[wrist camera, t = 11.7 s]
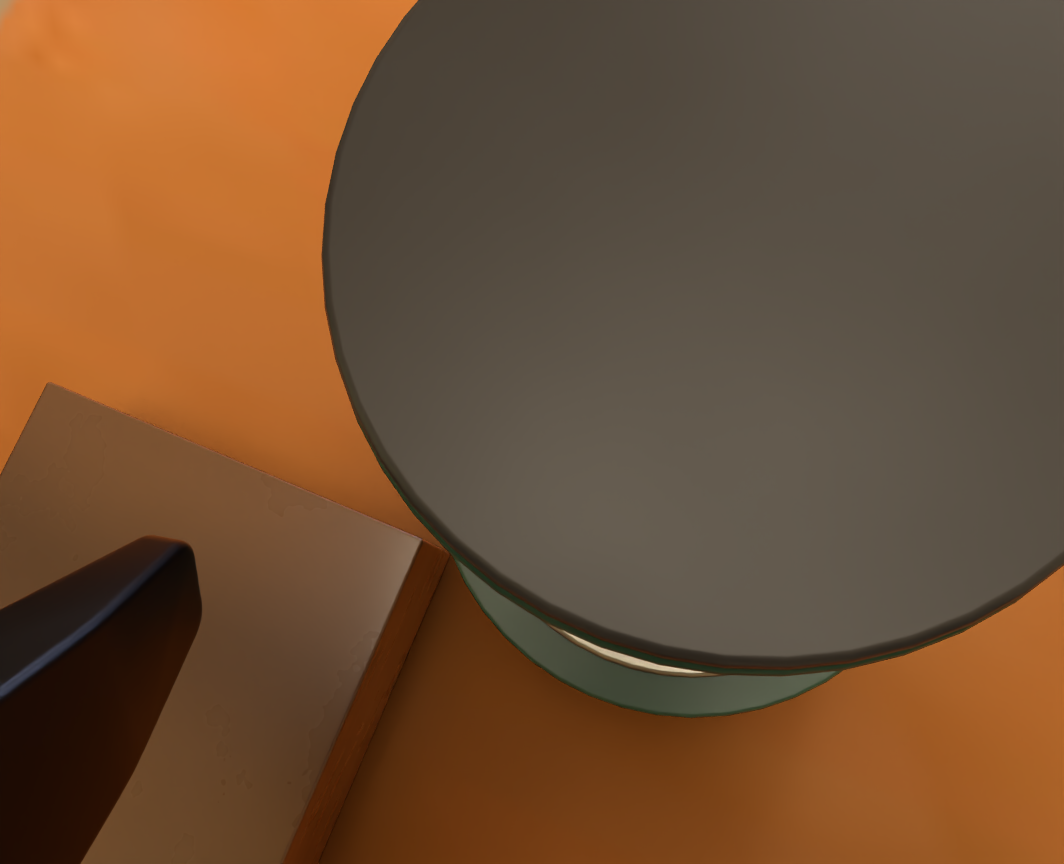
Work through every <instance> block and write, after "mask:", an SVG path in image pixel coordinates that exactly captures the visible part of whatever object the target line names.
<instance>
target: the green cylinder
mask: <svg viewBox="0 0 1064 864" xmlns="http://www.w3.org/2000/svg"><path fill="white" fill-rule="evenodd" d="M453 558H454V557H453ZM454 560H455V562H456V565H457V567H458V569H459V571H460V573H461V575H462V578H463V580H464V582H465V584H466V585H467V587H468V588H469V590H470V592H471V593H472V595H473V596H474V598H475V600H476V601H477V603H478V604H479V606H480V607H481V609H482V611H483V612H484V613H485V614H486V615H487V617H488V618H489V619H490V620H491V621H492V623H493V624H494V625H495V626H496V627H497V629H498V630H499V631H500V632H501V633H502V635H503V636H504V637H505V638H506V639H507V640H508V641H509V642H511V643H512V644H513V645H514V646H515V647H516V648H517V649H518V650H519V651H520V652H521V653H523V654H524V655H525V656H526V657H527V658H528V659H529V660H530V661H532V662H533V663H535V664H536V665H538V666H539V667H540V668H542V669H543V670H545V671H546V672H548V673H549V674H550V675H552V676H553V677H555V678H556V679H558V680H559V681H561V682H563V683H565V684H567V685H569V686H571V687H573V688H575V689H577V690H579V691H581V692H583V693H584V694H586V695H588V696H591V697H594V698H596V699H599V700H602V701H605V702H608V703H610V704H613V705H616V706H619V707H621V708H626V709H631V710H635V711H640V712H644V713H649V714H654V715H662V716H675V717H687V718H697V717H715V716H729V715H734V714H739V713H744V712H749V711H755V710H760V709H763V708H766V707H769V706H772V705H775V704H778V703H781V702H784V701H787V700H790V699H793V698H795V697H797V696H799V695H801V694H803V693H805V692H807V691H809V690H811V689H813V688H815V687H817V686H819V685H821V684H823V683H825V682H827V681H828V680H830V679H831V678H833V677H834V676H836V675H837V674H839V673H840V672H842V671H843V670H840V671H830V672H821V673H811V674H802V675H792V676H783V677H777V676H742V675H717V674H711V673H705V672H699V671H693V670H686V669H680V668H674V667H668V666H661V665H657V664H654V663H650V662H647V661H644V660H640V659H637V658H634V657H630V656H627V655H624V654H620V653H617V652H614V651H610V650H607V649H604V648H600V647H598V646H596V645H594V644H592V643H589V642H587V641H585V640H583V639H580V638H578V637H576V636H574V635H572V634H569V633H567V632H565V631H563V630H560V629H558V628H556V627H554V626H552V625H549V624H547V623H545V622H544V621H542V620H540V619H539V618H537V617H536V616H534V615H532V614H531V613H529V612H528V611H526V610H524V609H523V608H521V607H519V606H518V605H516V604H515V603H513V602H511V601H510V600H508V599H507V598H505V597H503V596H502V595H500V594H499V593H497V592H496V591H494V590H493V589H492V588H491V587H489V586H488V585H487V584H486V583H485V582H483V581H482V580H481V579H480V578H479V577H477V576H476V575H475V574H474V573H472V572H471V571H470V570H469V569H468V568H466V567H465V566H464V565H463V564H462V563H460V562H459V561H458V560H457V559H455V558H454Z"/></svg>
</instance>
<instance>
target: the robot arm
mask: <svg viewBox="0 0 1064 864" xmlns="http://www.w3.org/2000/svg"><path fill="white" fill-rule="evenodd" d="M201 618H202V599H201V593H200V586H199V580H198V573H197V567H196V561H195V555H194V551H193V549H192V547H191V546H190V545H189V543H187V542H185V541H182V540H177V539H172V538H167V537H161V536H156V535H147V536H143V537H141V538H138V539H136V540H134V541H132V542H130V543H129V544H127V545H125V546H123V547H121V548H119V549H117V550H115V551H113V552H111V553H109V554H107V555H105V556H103V557H101V558H99V559H97V560H95V561H93V562H91V563H90V564H88V565H86V566H84V567H82V568H80V569H78V570H76V571H74V572H72V573H70V574H68V575H66V576H64V577H62V578H60V579H58V580H56V581H54V582H52V583H51V584H49V585H47V586H45V587H43V588H41V589H39V590H37V591H35V592H33V593H31V594H29V595H27V596H25V597H23V598H21V599H19V600H17V601H15V602H13V603H11V604H10V605H8V606H6V607H4V608H2V609H0V864H81V862H82V861H83V859H84V857H85V856H86V854H87V852H88V850H89V849H90V847H91V845H92V844H93V842H94V840H95V839H96V837H97V835H98V833H99V832H100V830H101V828H102V827H103V825H104V823H105V822H106V820H107V818H108V816H109V815H110V813H111V811H112V810H113V808H114V806H115V805H116V803H117V801H118V799H119V798H120V796H121V794H122V792H123V791H124V789H125V787H126V785H127V783H128V782H129V780H130V778H131V776H132V774H133V773H134V771H135V768H136V766H137V764H138V762H139V760H140V758H141V756H142V754H143V752H144V750H145V748H146V745H147V743H148V741H149V739H150V737H151V734H152V732H153V730H154V728H155V725H156V723H157V721H158V719H159V717H160V714H161V712H162V710H163V708H164V705H165V703H166V701H167V699H168V697H169V694H170V692H171V690H172V688H173V686H174V683H175V681H176V679H177V677H178V674H179V672H180V670H181V668H182V666H183V663H184V661H185V659H186V657H187V654H188V652H189V650H190V648H191V646H192V643H193V641H194V639H195V637H196V634H197V632H198V630H199V626H200V623H201Z"/></svg>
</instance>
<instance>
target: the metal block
mask: <svg viewBox="0 0 1064 864" xmlns="http://www.w3.org/2000/svg"><path fill="white" fill-rule="evenodd" d="M147 535H156V536H161V537H167V538H172V539H177V540H182V541H185V542H187V543H189V545H190V546H191V547H192V549H193V551H194V555H195V561H196V567H197V573H198V580H199V586H200V593H201V599H202V618H201V623H200V626H199V630H198V632H197V634H196V637H195V639H194V641H193V643H192V646H191V648H190V650H189V652H188V654H187V657H186V659H185V661H184V663H183V666H182V668H181V670H180V672H179V674H178V677H177V679H176V681H175V683H174V686H173V688H172V690H171V692H170V694H169V697H168V699H167V701H166V703H165V705H164V708H163V710H162V712H161V714H160V717H159V719H158V721H157V723H156V725H155V728H154V730H153V732H152V734H151V737H150V739H149V741H148V743H147V745H146V748H145V750H144V752H143V754H142V756H141V758H140V760H139V762H138V764H137V766H136V768H135V771H134V773H133V774H132V776H131V778H130V780H129V782H128V783H127V785H126V787H125V789H124V791H123V792H122V794H121V796H120V798H119V799H118V801H117V803H116V805H115V806H114V808H113V810H112V811H111V813H110V815H109V816H108V818H107V820H106V822H105V823H104V825H103V827H102V828H101V830H100V832H99V833H98V835H97V837H96V839H95V840H94V842H93V844H92V845H91V847H90V849H89V850H88V852H87V854H86V856H85V857H84V859H83V861H82V862H81V864H318V861H319V859H320V857H321V854H322V852H323V850H324V847H325V845H326V843H327V840H328V838H329V836H330V833H331V831H332V829H333V827H334V824H335V822H336V820H337V817H338V815H339V813H340V810H341V808H342V806H343V803H344V801H345V799H346V796H347V794H348V792H349V789H350V787H351V785H352V782H353V780H354V778H355V775H356V773H357V771H358V768H359V766H360V764H361V761H362V759H363V757H364V754H365V752H366V750H367V747H368V745H369V743H370V740H371V738H372V736H373V733H374V731H375V729H376V726H377V724H378V722H379V719H380V717H381V715H382V713H383V710H384V708H385V706H386V703H387V701H388V699H389V696H390V694H391V692H392V689H393V687H394V685H395V682H396V680H397V678H398V675H399V673H400V671H401V668H402V666H403V664H404V661H405V659H406V657H407V654H408V652H409V650H410V647H411V645H412V643H413V640H414V638H415V636H416V633H417V631H418V629H419V626H420V624H421V622H422V619H423V617H424V615H425V612H426V610H427V608H428V605H429V603H430V601H431V598H432V596H433V594H434V592H435V589H436V587H437V585H438V582H439V580H440V578H441V575H442V573H443V571H444V568H445V566H446V564H447V561H448V559H449V557H450V553H449V552H447V551H445V550H443V549H441V548H439V547H437V546H435V545H433V544H431V543H429V542H427V541H426V540H424V539H422V538H419V537H417V536H415V535H412V534H410V533H407V532H405V531H403V530H400V529H398V528H396V527H393V526H391V525H388V524H386V523H384V522H381V521H379V520H377V519H374V518H372V517H369V516H367V515H365V514H362V513H360V512H358V511H355V510H353V509H350V508H348V507H346V506H343V505H341V504H339V503H336V502H334V501H332V500H329V499H327V498H324V497H322V496H320V495H317V494H315V493H313V492H310V491H308V490H305V489H303V488H301V487H298V486H296V485H294V484H291V483H289V482H286V481H284V480H282V479H279V478H277V477H275V476H272V475H270V474H267V473H265V472H263V471H260V470H258V469H256V468H253V467H251V466H249V465H246V464H244V463H241V462H239V461H237V460H234V459H232V458H230V457H227V456H225V455H222V454H220V453H218V452H215V451H213V450H211V449H208V448H206V447H203V446H201V445H199V444H196V443H194V442H192V441H189V440H187V439H184V438H182V437H180V436H177V435H175V434H173V433H170V432H168V431H166V430H163V429H161V428H158V427H156V426H154V425H151V424H149V423H147V422H144V421H142V420H139V419H137V418H135V417H132V416H130V415H128V414H125V413H123V412H120V411H118V410H116V409H113V408H111V407H109V406H106V405H104V404H101V403H99V402H97V401H94V400H92V399H90V398H87V397H85V396H83V395H80V394H78V393H75V392H73V391H71V390H68V389H66V388H64V387H61V386H59V385H56V384H54V383H52V382H48V383H47V384H46V386H45V388H44V390H43V392H42V394H41V396H40V398H39V400H38V402H37V404H36V406H35V408H34V410H33V412H32V414H31V416H30V418H29V420H28V422H27V424H26V426H25V427H24V429H23V431H22V433H21V435H20V437H19V439H18V441H17V443H16V445H15V447H14V449H13V451H12V453H11V455H10V457H9V459H8V461H7V463H6V465H5V467H4V469H3V471H2V473H1V474H0V609H2V608H4V607H6V606H8V605H10V604H11V603H13V602H15V601H17V600H19V599H21V598H23V597H25V596H27V595H29V594H31V593H33V592H35V591H37V590H39V589H41V588H43V587H45V586H47V585H49V584H51V583H52V582H54V581H56V580H58V579H60V578H62V577H64V576H66V575H68V574H70V573H72V572H74V571H76V570H78V569H80V568H82V567H84V566H86V565H88V564H90V563H91V562H93V561H95V560H97V559H99V558H101V557H103V556H105V555H107V554H109V553H111V552H113V551H115V550H117V549H119V548H121V547H123V546H125V545H127V544H129V543H130V542H132V541H134V540H136V539H138V538H141V537H143V536H147Z"/></svg>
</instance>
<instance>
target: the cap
mask: <svg viewBox="0 0 1064 864" xmlns="http://www.w3.org/2000/svg"><path fill="white" fill-rule="evenodd" d="M322 271H323V286H324V302H325V311H326V316H327V320H328V325H329V330H330V335H331V340H332V345H333V350H334V355H335V359H336V362H337V365H338V368H339V371H340V374H341V377H342V380H343V382H344V385H345V388H346V391H347V394H348V397H349V399H350V402H351V405H352V408H353V411H354V414H355V416H356V419H357V422H358V424H359V426H360V428H361V430H362V432H363V433H364V435H365V437H366V439H367V441H368V443H369V445H370V447H371V449H372V451H373V453H374V455H375V457H376V459H377V461H378V463H379V465H380V466H381V468H382V470H383V471H384V473H385V474H386V476H387V477H388V479H389V480H390V481H391V483H392V484H393V486H394V487H395V489H396V490H397V491H398V493H399V494H400V496H401V497H402V499H403V500H404V501H405V503H406V504H407V506H408V507H409V508H410V510H411V511H412V513H413V514H414V515H415V516H416V517H417V519H418V520H419V521H420V522H421V523H422V524H423V525H424V526H425V527H426V528H427V529H428V530H429V531H430V533H431V534H432V535H433V536H434V537H435V538H436V539H437V540H438V541H439V542H440V543H441V544H442V545H443V547H444V548H445V549H446V550H447V551H448V552H449V553H450V554H451V555H452V556H453V557H454V558H455V559H457V560H458V561H459V562H460V563H462V564H463V565H464V566H465V567H466V568H468V569H469V570H470V571H471V572H472V573H474V574H475V575H476V576H477V577H479V578H480V579H481V580H482V581H483V582H485V583H486V584H487V585H488V586H489V587H491V588H492V589H493V590H494V591H496V592H497V593H499V594H500V595H502V596H503V597H505V598H507V599H508V600H510V601H511V602H513V603H515V604H516V605H518V606H519V607H521V608H523V609H524V610H526V611H528V612H529V613H531V614H532V615H534V616H536V617H537V618H539V619H540V620H542V621H544V622H545V623H547V624H549V625H552V626H554V627H556V628H558V629H560V630H563V631H565V632H567V633H569V634H572V635H574V636H576V637H578V638H580V639H583V640H585V641H587V642H589V643H592V644H594V645H596V646H598V647H600V648H604V649H607V650H610V651H614V652H617V653H620V654H624V655H627V656H630V657H634V658H637V659H640V660H644V661H647V662H650V663H654V664H657V665H661V666H668V667H674V668H680V669H686V670H693V671H699V672H705V673H711V674H717V675H742V676H777V677H783V676H792V675H802V674H811V673H821V672H830V671H840V670H846V669H850V668H854V667H859V666H863V665H867V664H871V663H875V662H879V661H883V660H887V659H891V658H895V657H900V656H904V655H906V654H909V653H912V652H914V651H917V650H919V649H922V648H924V647H927V646H929V645H932V644H934V643H937V642H939V641H942V640H945V639H947V638H950V637H952V636H955V635H957V634H960V633H962V632H964V631H966V630H967V629H969V628H971V627H973V626H975V625H976V624H978V623H980V622H982V621H983V620H985V619H987V618H989V617H991V616H992V615H994V614H996V613H998V612H999V611H1001V610H1003V609H1005V608H1007V607H1008V606H1010V605H1012V604H1014V603H1015V602H1017V601H1018V600H1019V599H1021V598H1022V597H1023V596H1024V595H1026V594H1027V593H1028V592H1030V591H1031V590H1032V589H1034V588H1035V587H1036V586H1038V585H1039V584H1040V583H1041V582H1043V581H1044V580H1045V579H1047V578H1048V577H1049V576H1051V575H1052V574H1053V573H1054V572H1056V571H1057V570H1058V569H1060V568H1061V567H1062V566H1064V0H418V1H417V3H416V4H415V5H414V6H413V7H412V8H411V10H410V11H409V12H408V13H407V14H406V15H405V16H404V18H403V19H402V21H401V22H400V24H399V25H398V27H397V28H396V30H395V31H394V33H393V34H392V36H391V37H390V39H389V40H388V42H387V43H386V44H385V46H384V47H383V49H382V50H381V52H380V53H379V55H378V56H377V58H376V60H375V62H374V64H373V65H372V67H371V69H370V71H369V73H368V75H367V77H366V79H365V81H364V83H363V85H362V87H361V89H360V91H359V93H358V95H357V97H356V99H355V101H354V103H353V106H352V109H351V112H350V114H349V117H348V120H347V123H346V126H345V129H344V131H343V134H342V137H341V140H340V143H339V146H338V149H337V151H336V155H335V160H334V165H333V170H332V174H331V179H330V184H329V189H328V194H327V198H326V203H325V214H324V228H323V242H322Z"/></svg>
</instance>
